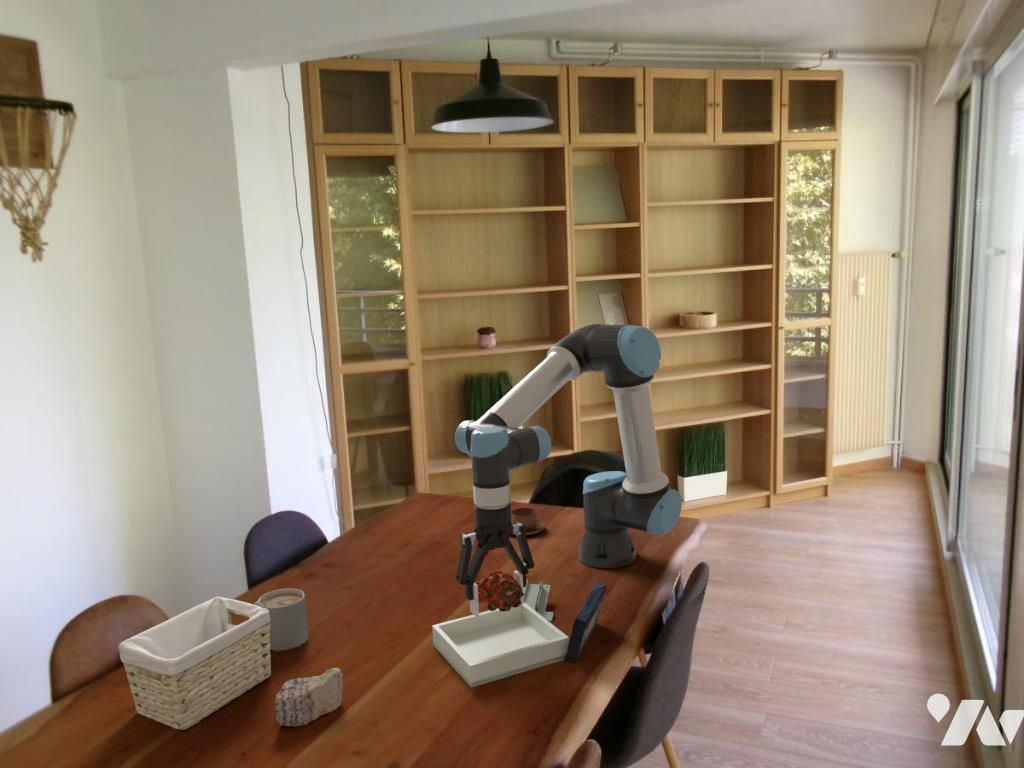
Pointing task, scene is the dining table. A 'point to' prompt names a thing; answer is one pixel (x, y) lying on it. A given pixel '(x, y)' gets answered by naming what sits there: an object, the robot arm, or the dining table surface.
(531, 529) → the cup and saucer
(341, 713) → the dining table surface
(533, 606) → the metal bracket
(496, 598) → the dragon fruit
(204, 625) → the storage basket
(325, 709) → the mineral specimen
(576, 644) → the vhs cassette tape
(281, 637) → the coffee mug
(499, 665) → the tray
